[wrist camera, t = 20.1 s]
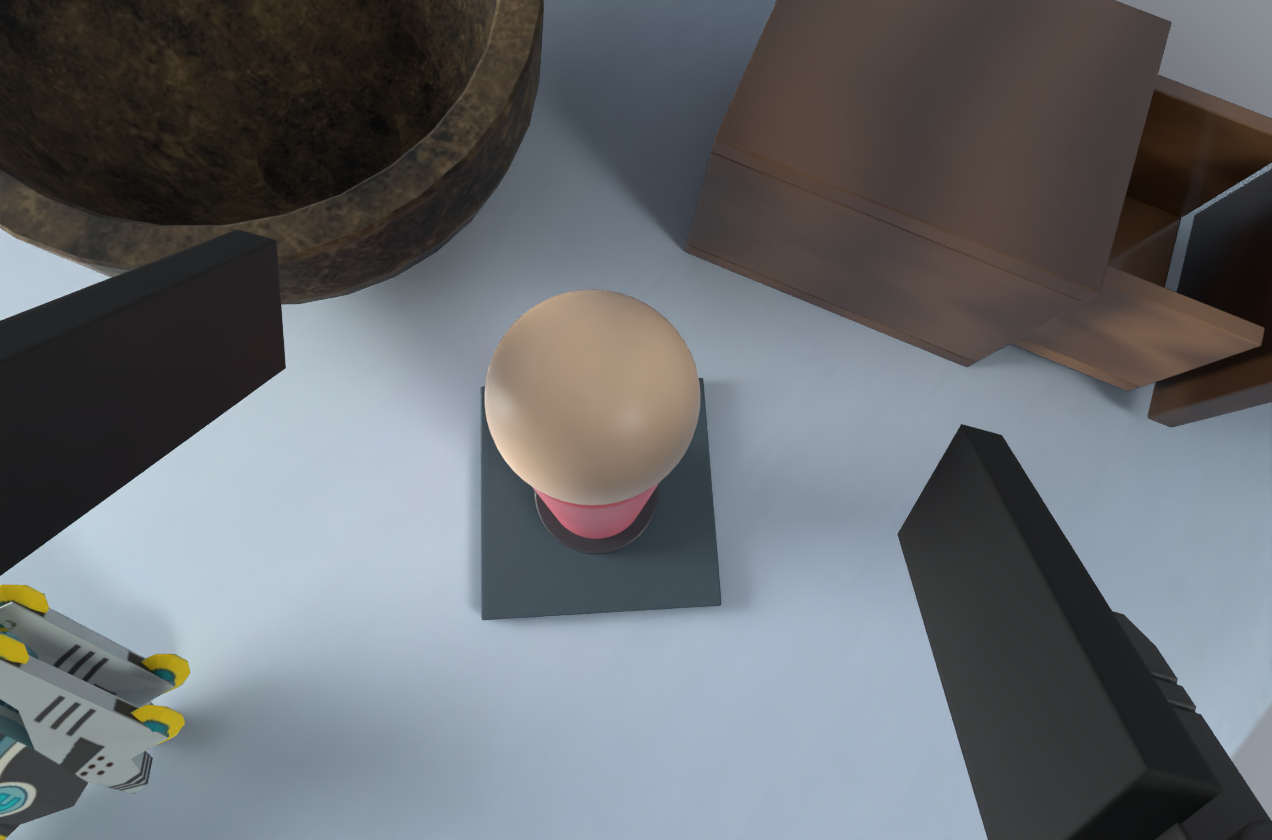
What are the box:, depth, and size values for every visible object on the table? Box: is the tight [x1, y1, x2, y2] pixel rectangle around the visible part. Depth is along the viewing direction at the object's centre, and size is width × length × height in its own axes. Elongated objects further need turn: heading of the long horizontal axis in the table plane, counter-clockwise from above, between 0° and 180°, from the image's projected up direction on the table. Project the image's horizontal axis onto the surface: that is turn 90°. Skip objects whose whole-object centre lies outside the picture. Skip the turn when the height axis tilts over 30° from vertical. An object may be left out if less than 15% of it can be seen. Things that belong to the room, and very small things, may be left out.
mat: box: [481, 378, 721, 620], centre depth 29 cm, size 10×10×1 cm
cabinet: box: [685, 0, 1171, 367], centre depth 29 cm, size 15×13×9 cm
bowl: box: [0, 0, 544, 304], centre depth 27 cm, size 22×22×10 cm
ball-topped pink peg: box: [485, 290, 701, 554], centre depth 20 cm, size 5×5×18 cm
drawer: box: [1010, 75, 1272, 427], centre depth 28 cm, size 17×11×7 cm, turn 67°
